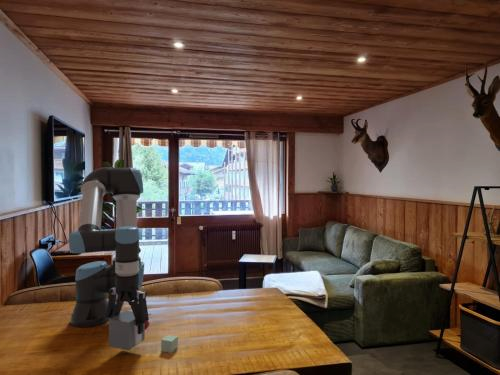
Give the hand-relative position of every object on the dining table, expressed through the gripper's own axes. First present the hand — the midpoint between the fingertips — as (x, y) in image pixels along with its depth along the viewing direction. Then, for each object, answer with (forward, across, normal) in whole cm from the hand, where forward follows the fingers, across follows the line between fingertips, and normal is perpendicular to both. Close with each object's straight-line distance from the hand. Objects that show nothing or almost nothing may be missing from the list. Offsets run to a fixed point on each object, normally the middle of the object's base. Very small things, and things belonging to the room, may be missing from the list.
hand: (127, 340), depth 113 cm
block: (+4, +12, +7) cm, 15 cm away
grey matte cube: (+1, 0, 0) cm, 1 cm away
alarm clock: (+5, -11, +17) cm, 20 cm away
